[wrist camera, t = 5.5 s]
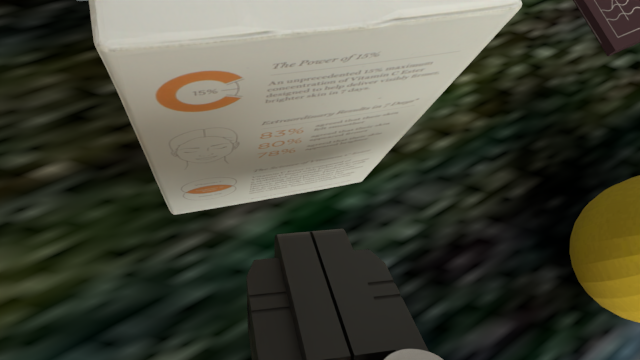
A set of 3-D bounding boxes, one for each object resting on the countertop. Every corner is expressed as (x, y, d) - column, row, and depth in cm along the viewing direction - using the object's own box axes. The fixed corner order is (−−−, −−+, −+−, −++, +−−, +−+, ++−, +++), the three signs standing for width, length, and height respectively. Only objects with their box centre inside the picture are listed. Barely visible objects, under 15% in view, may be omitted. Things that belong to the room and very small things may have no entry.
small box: (331, 49, 24) (447, -245, 12) (364, 184, 23) (535, 9, 10) (144, 70, 22) (52, -251, 10) (167, 218, 21) (93, 56, 9)
